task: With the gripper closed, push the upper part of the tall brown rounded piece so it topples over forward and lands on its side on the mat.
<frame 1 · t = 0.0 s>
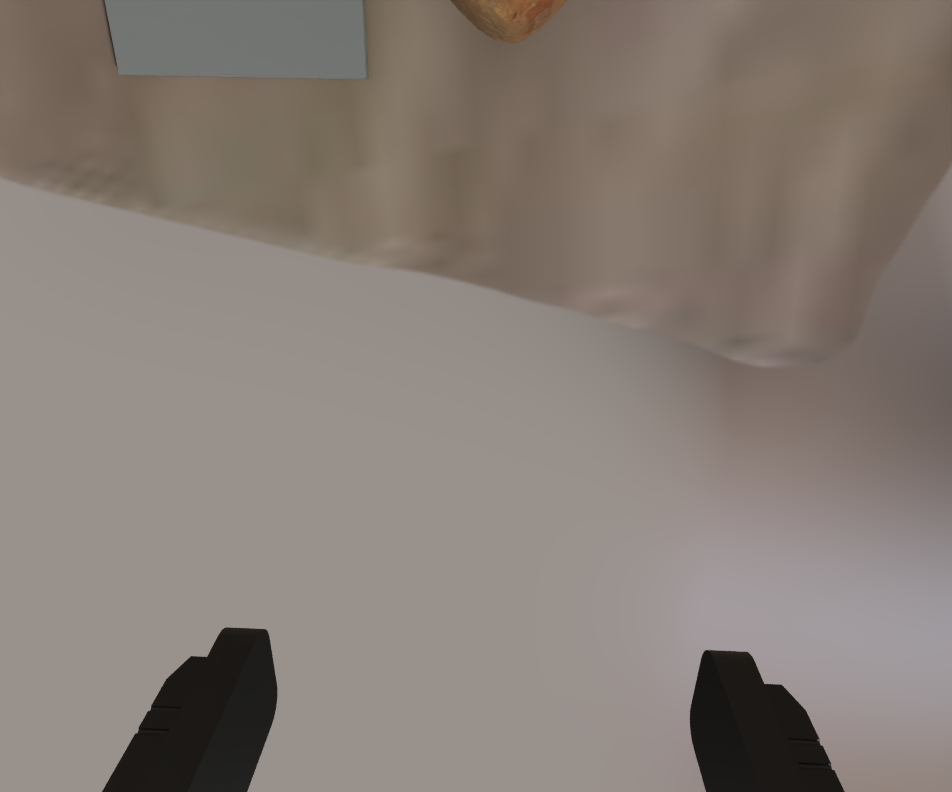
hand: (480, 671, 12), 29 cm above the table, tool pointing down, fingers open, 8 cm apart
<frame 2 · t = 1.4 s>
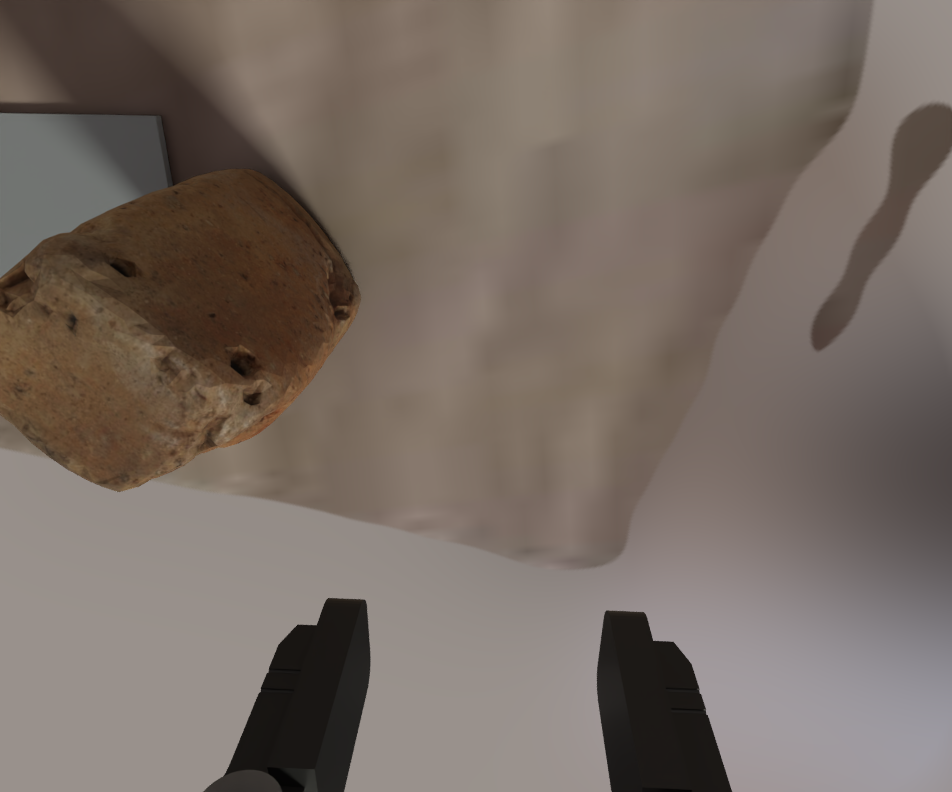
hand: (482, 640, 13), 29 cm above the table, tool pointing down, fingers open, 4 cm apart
brown rounded piece: (284, 260, 40), on the table
mat: (78, 248, 40), on the table
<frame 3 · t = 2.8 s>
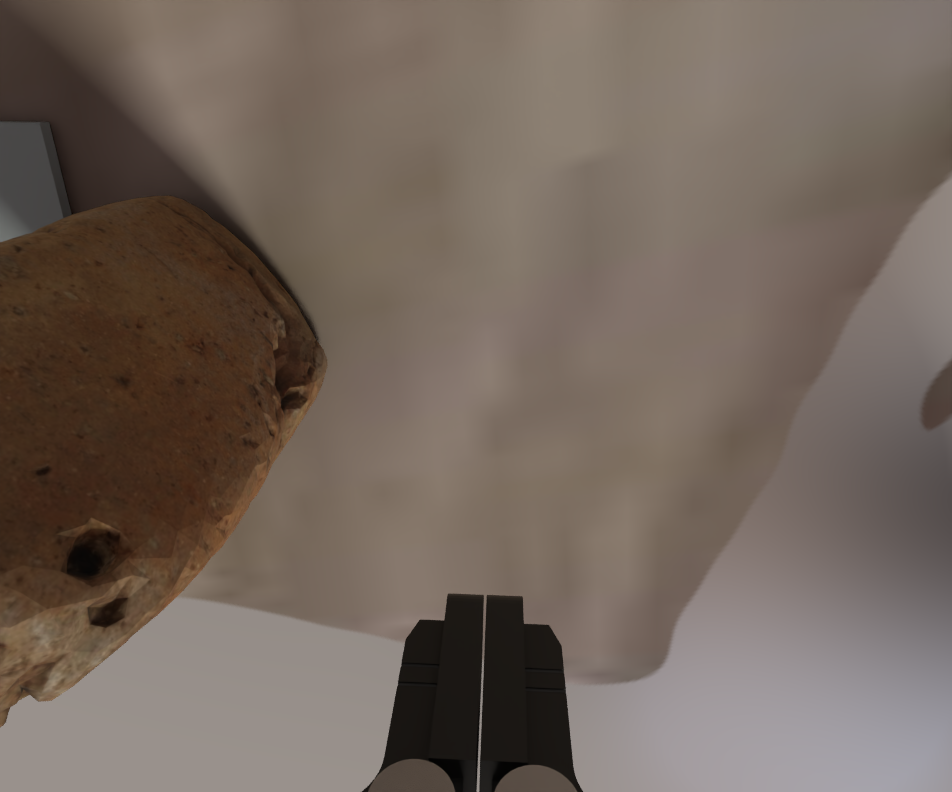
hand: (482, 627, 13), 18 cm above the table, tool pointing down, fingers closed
brown rounded piece: (226, 313, 30), on the table
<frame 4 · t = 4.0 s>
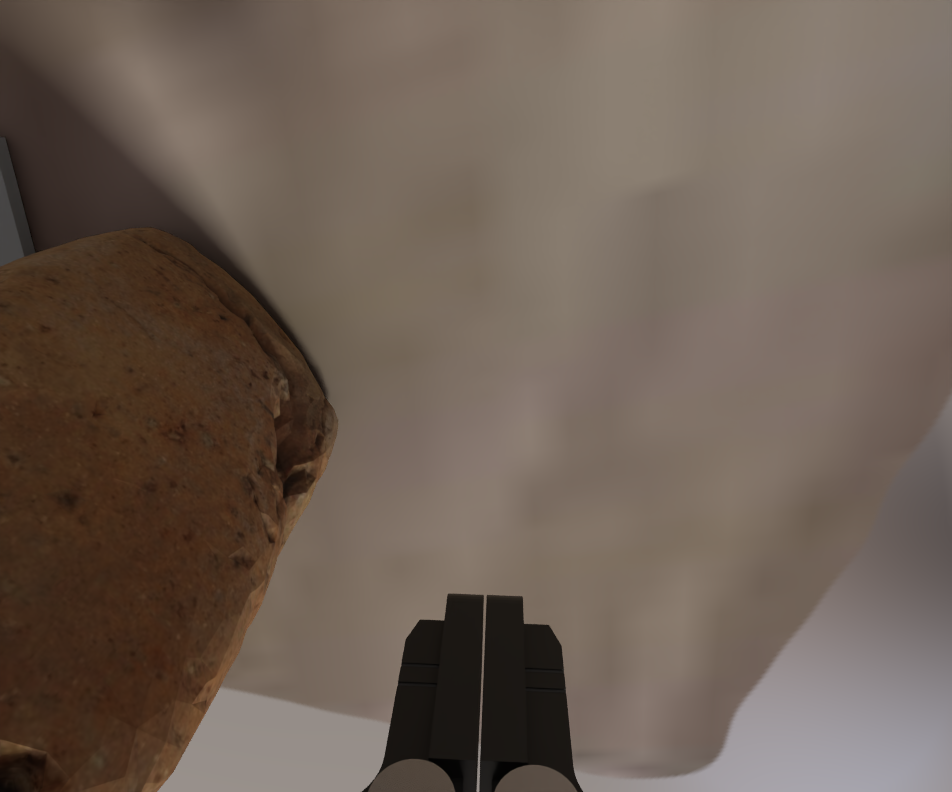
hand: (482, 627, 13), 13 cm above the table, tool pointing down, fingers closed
brown rounded piece: (219, 362, 26), on the table
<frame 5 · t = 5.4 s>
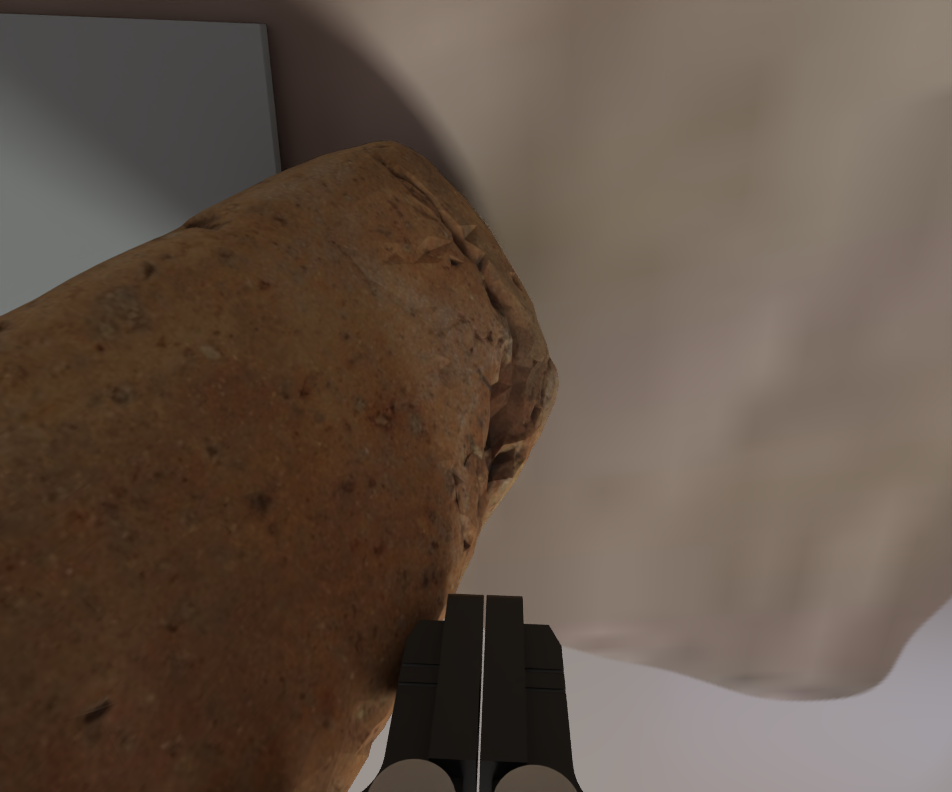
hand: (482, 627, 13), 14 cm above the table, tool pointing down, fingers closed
brown rounded piece: (443, 293, 23), point 1 cm above the table
mat: (116, 249, 25), on the table
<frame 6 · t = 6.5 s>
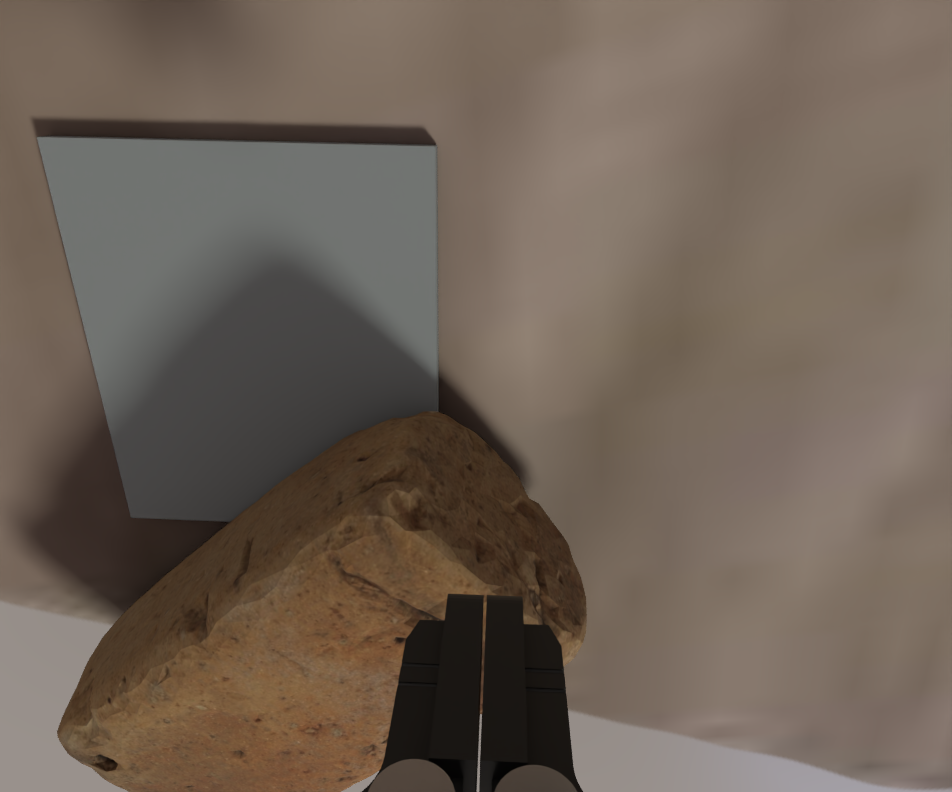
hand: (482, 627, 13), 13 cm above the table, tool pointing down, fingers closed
brown rounded piece: (513, 516, 22), point 5 cm above the table, touching mat
mat: (267, 351, 25), on the table
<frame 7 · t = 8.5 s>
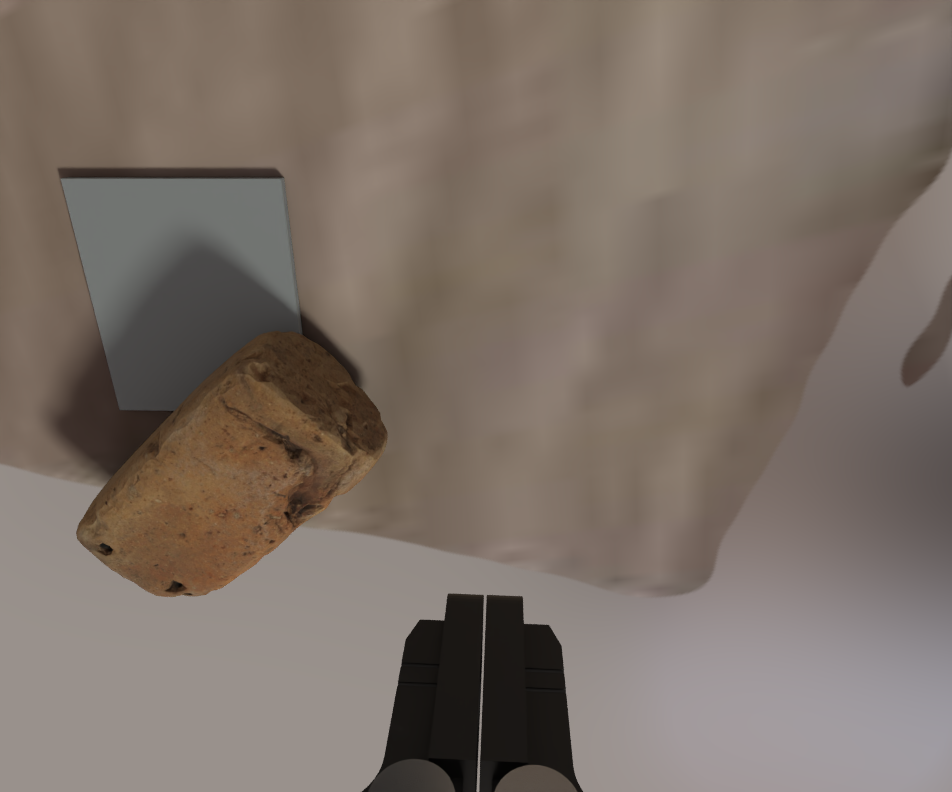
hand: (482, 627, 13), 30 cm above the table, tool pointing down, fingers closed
brown rounded piece: (332, 387, 39), point 5 cm above the table, touching mat
mat: (197, 301, 42), on the table
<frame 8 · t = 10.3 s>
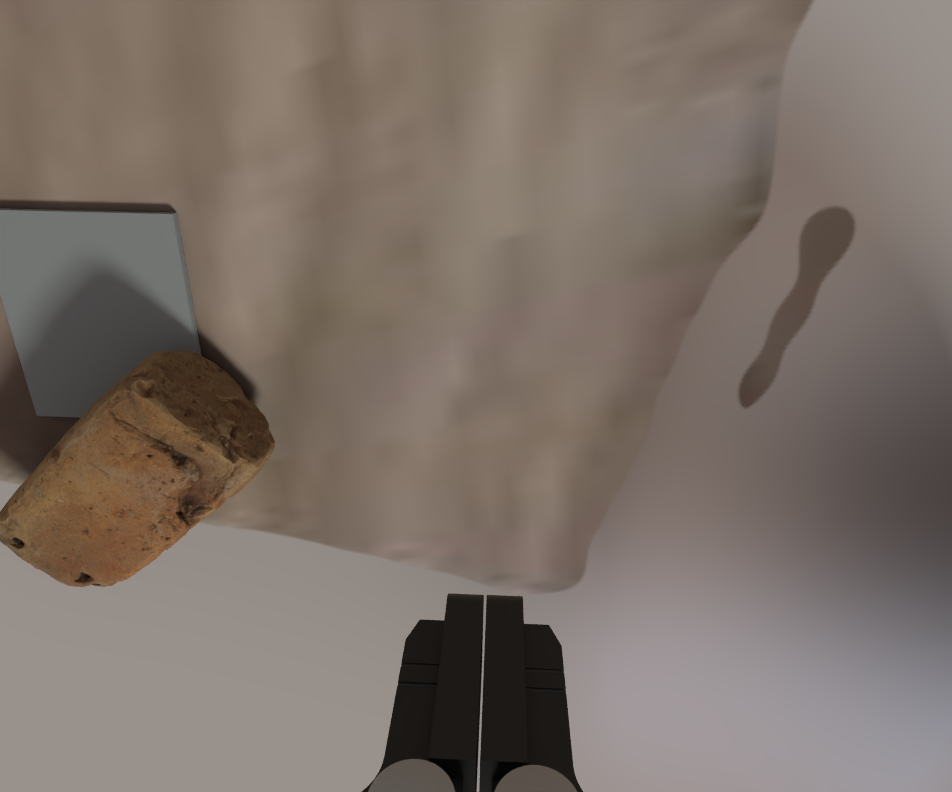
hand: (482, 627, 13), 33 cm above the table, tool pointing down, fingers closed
brown rounded piece: (219, 401, 43), point 5 cm above the table, touching mat
mat: (104, 319, 46), on the table
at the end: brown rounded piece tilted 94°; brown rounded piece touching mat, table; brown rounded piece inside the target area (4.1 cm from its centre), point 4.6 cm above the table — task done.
